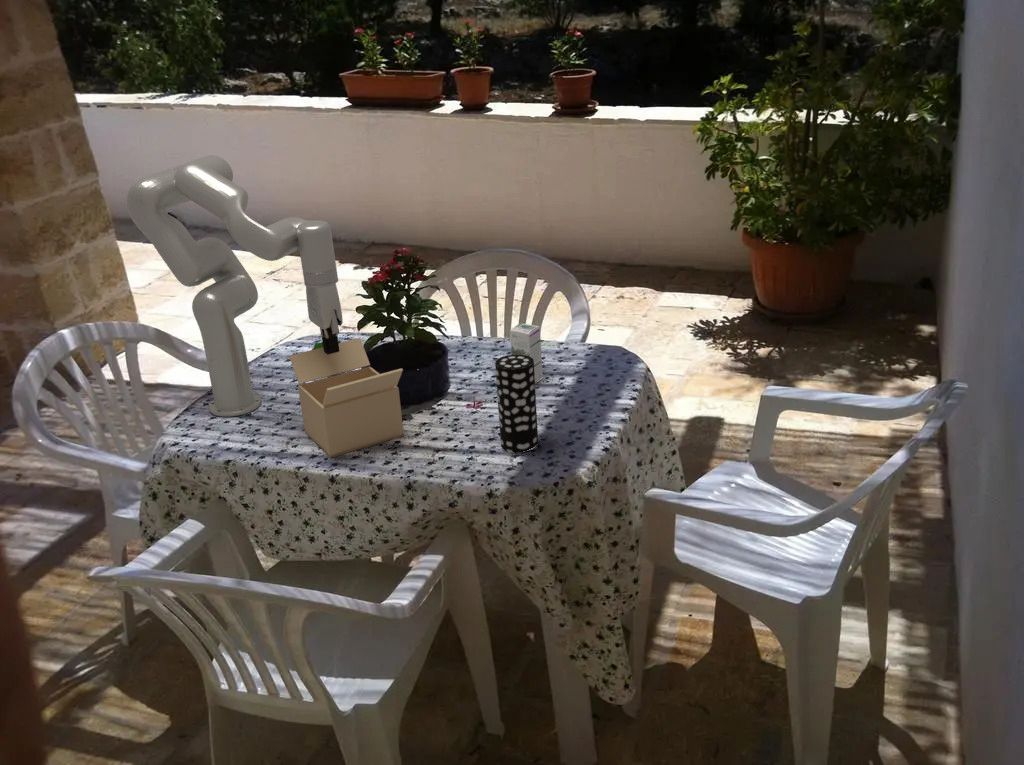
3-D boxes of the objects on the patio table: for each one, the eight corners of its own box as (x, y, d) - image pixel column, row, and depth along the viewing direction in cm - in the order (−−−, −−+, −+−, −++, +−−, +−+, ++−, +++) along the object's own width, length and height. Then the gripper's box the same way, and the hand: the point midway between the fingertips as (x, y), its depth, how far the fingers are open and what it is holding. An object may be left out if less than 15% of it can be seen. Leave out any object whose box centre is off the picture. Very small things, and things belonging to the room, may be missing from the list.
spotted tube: (525, 456, 227) (520, 371, 219) (493, 448, 232) (487, 365, 224) (545, 440, 234) (541, 358, 226) (513, 433, 238) (508, 352, 230)
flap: (299, 383, 239) (299, 384, 240) (370, 364, 247) (369, 365, 248) (289, 355, 241) (289, 356, 241) (360, 337, 248) (359, 338, 249)
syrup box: (543, 378, 266) (541, 325, 260) (531, 387, 261) (528, 332, 255) (524, 374, 269) (521, 321, 263) (512, 383, 264) (508, 329, 258)
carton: (305, 432, 245) (297, 385, 240) (375, 412, 253) (369, 366, 248) (330, 458, 232) (323, 409, 227) (403, 435, 240) (398, 388, 235)
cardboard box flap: (395, 384, 236) (396, 386, 235) (322, 404, 228) (323, 406, 228) (401, 368, 230) (402, 370, 230) (326, 388, 222) (327, 390, 222)
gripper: (293, 272, 239) (304, 347, 246) (317, 287, 227) (329, 365, 234) (323, 265, 242) (334, 339, 250) (349, 280, 230) (359, 357, 238)
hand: (331, 352), depth 242 cm, fingers closed
